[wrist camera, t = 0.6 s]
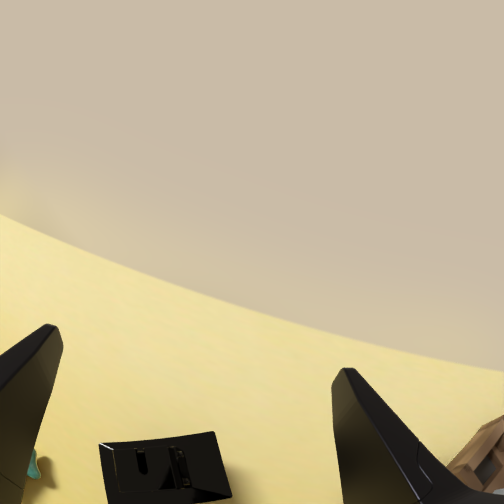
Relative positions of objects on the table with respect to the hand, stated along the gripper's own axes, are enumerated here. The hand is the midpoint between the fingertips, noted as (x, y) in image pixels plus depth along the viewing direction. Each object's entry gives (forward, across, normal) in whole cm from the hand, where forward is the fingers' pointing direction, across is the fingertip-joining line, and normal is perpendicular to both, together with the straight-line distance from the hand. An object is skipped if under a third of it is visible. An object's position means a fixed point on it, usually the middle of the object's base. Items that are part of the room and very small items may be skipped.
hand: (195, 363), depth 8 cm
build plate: (+1, +2, +16) cm, 16 cm away
